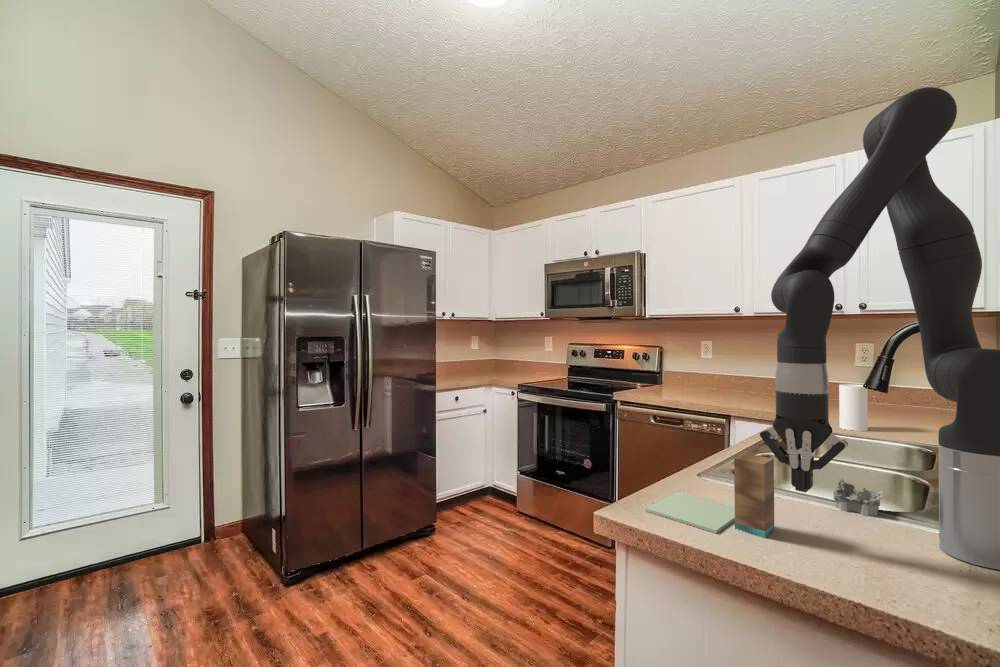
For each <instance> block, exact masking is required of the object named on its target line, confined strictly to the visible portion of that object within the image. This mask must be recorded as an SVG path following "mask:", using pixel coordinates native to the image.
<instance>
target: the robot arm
mask: <svg viewBox="0 0 1000 667" xmlns="http://www.w3.org/2000/svg"><path fill="white" fill-rule="evenodd" d="M957 108H958V106H957V102H956V100H955V99H954V97H953V95H952V94H950V93H949V92H948V91H947V90H945V89H942V88H939V87H935V86H927V87H920V88H916V89H914V90H912V91H909V92H907V93H905V94H903V95H902V96H900V97H899V98H897V99H895V100H894V101H893V102H892V103H890V104H889V105H887V107H885V108H884V109H882V111H880V112H879V113H878V114H876V115H875V116H874V117H873V118H871V120H870V121H869V122H868V123H867V124H866V126H865V129H864V131H863V135H862V144H863V146H862V147H863V150H864V152H865V155H866V158H867V162H866V163H865V165H864V166H863V167H862V169H861V170H860V171H859V173H858V174H857V175H856V176H855V177H854V179H853V180H852V181H851V182H850V183H849V185H847V187H846V188H845V189H844V190H843V191H842V192H841V193H840V195H839V196H838V197H837V198H836V199H835V200H834V202H833V203H832V204H831V205H830V206H829V208H828V209H827V210H826V211H825V213H824V215H823V216H822V217H821V219H820V220H819V222H818V223H817V225H816V227H815V228H814V230H813V231H812V233H811V235H810V236H809V237H808V239H807V241H806V242H805V245H804V246H803V247H802V249H801V250H800V251H799V252H798V254H797V255H795V257H794V258H793V259H792V260H791V261H790V263H788V265H787V266H786V267H785V269H784V270H783V271H782V272H781V273H780V275H779V276H778V278H777V279H776V281H775V283H774V284H773V287H772V289H771V295H770V296H771V302H772V305H773V306H774V308H775V309H777V310H778V311H780V312H782V313H785V315H786V316H785V322H784V324H785V325H784V328H783V329H782V330H780V332H778V334H777V339H776V340H777V341H776V361H777V362H776V371H775V381H774V387H775V418H774V420H773V421H772V426H771V427H769V428H768V429H765V430H762V431H760V432H759V437H760V438H761V440H763V443H765V445H766V446H767V447H768V448H769V450H770V451H771V453H772V454H773V455H774V456H775V458H776V459H777V460H778V461H779V463H781V464H786V465H788V466H789V467H790V469H791V470H790V472H791V473H790V474H791V477H790V479H791V481H790V482H791V485H792V487H795V488H794V489H795V491H798V492H801V493H807V492H809V490H811V489H812V488H813V486H814V470H822V469H823V468H824V467H826V466H827V465H828V464H829V463H830V462H831V461H833V459H835V458H836V457H837V456H838V455H839V454H840V453H842V451H844V450H845V449H846V448H847V447H848V446H849V443H848V441H847V440H845V439H840V438H839V437H838V436H836V435H835V434H834V433H833V428H832V427H831V424H830V422H829V420H830V419H829V416H830V414H829V412H830V411H829V372H828V366H827V334H828V332H829V329H830V324H831V320H832V316H833V311H834V307H835V306H834V305H835V290H834V285H833V283H832V282H831V279H830V277H831V276H832V275H833V274H834V273H835V272H837V271H838V270H839V269H841V268H843V267H845V266H846V265H847V264H848V263H849V262H850V260H852V258H853V256H854V255H855V253H856V252H857V250H858V249H859V247H860V246H861V244H862V243H863V242H864V240H865V238H866V237H867V235H868V233H869V232H870V230H871V228H872V227H873V226H874V224H875V223H876V222H877V220H878V218H879V217H880V215H881V214H882V213H883V211H884V209H885V208H886V210H887V214H888V217H889V220H890V225H891V227H892V230H893V234H894V238H895V242H896V246H897V248H896V249H897V251H898V255H899V259H900V264H901V266H902V269H903V272H904V276H905V278H906V281H907V285H908V289H909V292H910V297H911V300H912V305H913V308H914V311H915V316H916V318H917V322H918V327H919V333H920V334H919V335H920V340H921V348H922V355H923V364H924V370H925V374H926V378H927V381H928V384H929V385H930V387H931V388H932V390H933V391H934V392H935V393H936V394H937V395H938V396H940V397H942V398H943V399H946V400H947V401H951V402H954V403H956V412H955V419H954V420H953V421H952V422H951V423H950V424H946V425H942V426H941V427H940V428H939V430H938V436H937V437H938V523H939V524H938V527H939V528H938V530H939V531H938V538H939V539H938V541H939V548H940V550H941V551H942V552H944V553H945V554H947V555H948V556H951V557H953V558H955V559H958V560H960V561H964V562H966V563H969V564H972V565H976V566H978V567H979V566H980V567H984V568H988V569H994V570H1000V349H997V348H982V346H981V343H980V340H979V338H978V336H977V332H976V329H975V325H974V321H973V305H974V300H975V298H976V294H977V291H978V287H979V283H980V280H981V276H982V269H983V259H982V255H981V250H980V247H979V243H978V240H977V236H976V233H975V229H974V227H973V224H972V223H971V221H970V219H969V217H968V216H967V215H966V214H965V213H964V211H963V210H961V208H960V207H959V206H958V205H957V204H955V203H954V202H953V201H952V200H951V199H950V198H949V197H948V196H947V195H945V194H944V193H943V192H942V191H941V190H940V188H939V187H938V186H937V185H936V184H935V181H934V179H933V178H932V177H933V176H932V174H931V172H930V167H929V165H928V161H927V160H928V159H927V155H928V154H930V152H931V151H932V150H933V149H934V148H935V147H936V146H937V145H938V144H939V143H940V141H942V140H943V139H944V138H945V136H946V135H947V134H948V133H949V131H950V130H951V129H952V128H953V126H954V124H955V121H956V119H957V115H958V114H957V113H958V109H957ZM779 438H780V439H781V440H782V441H783V444H784V445H786V446H787V448H786V449H787V450H786V449H785V447H784V446H783V445H782V444H781V442H780V441H779V440H778V439H779ZM827 440H828V443H827V448H828V450H827V451H826V452H825V453H824V454H822V456H821V457H820V458H819V459H817V460H816V459H815V456H816V453H817V452H816V451H817V449H818V448H820V447H821V446H822V445H823V443H825V441H827Z"/></svg>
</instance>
